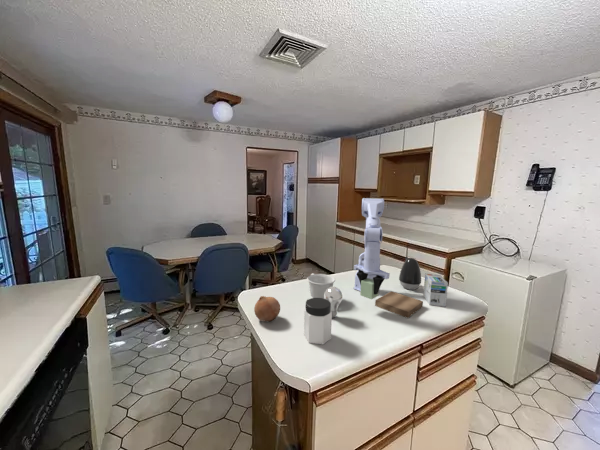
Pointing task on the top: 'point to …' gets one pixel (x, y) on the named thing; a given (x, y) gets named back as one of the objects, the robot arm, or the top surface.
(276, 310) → the onion
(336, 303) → the light bulb
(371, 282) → the green block
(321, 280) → the teacup
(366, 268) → the robot arm
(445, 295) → the light bulb box
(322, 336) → the jar
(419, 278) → the black egg-shaped speaker
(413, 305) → the walnut base
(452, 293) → the top surface
